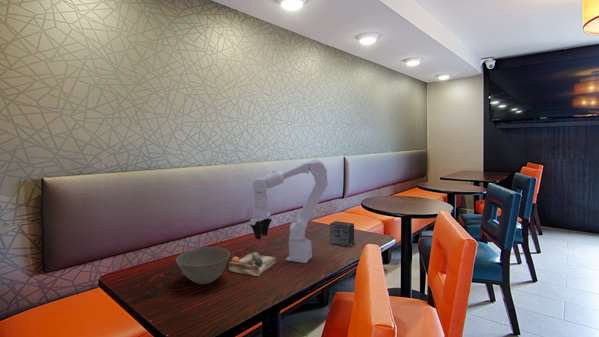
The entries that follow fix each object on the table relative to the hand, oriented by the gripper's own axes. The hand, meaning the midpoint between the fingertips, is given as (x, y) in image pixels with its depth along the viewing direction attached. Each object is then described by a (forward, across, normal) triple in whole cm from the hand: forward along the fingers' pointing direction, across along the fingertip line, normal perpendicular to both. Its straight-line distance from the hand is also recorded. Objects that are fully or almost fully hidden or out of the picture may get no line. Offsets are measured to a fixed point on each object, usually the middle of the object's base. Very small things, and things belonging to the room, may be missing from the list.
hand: (261, 237), depth 136 cm
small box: (+10, -32, +27) cm, 43 cm away
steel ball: (+6, +6, 0) cm, 8 cm away
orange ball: (+6, +13, -5) cm, 15 cm away
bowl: (+10, +26, -9) cm, 30 cm away
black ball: (+6, +11, +5) cm, 14 cm away
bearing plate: (+10, +8, 0) cm, 13 cm away
